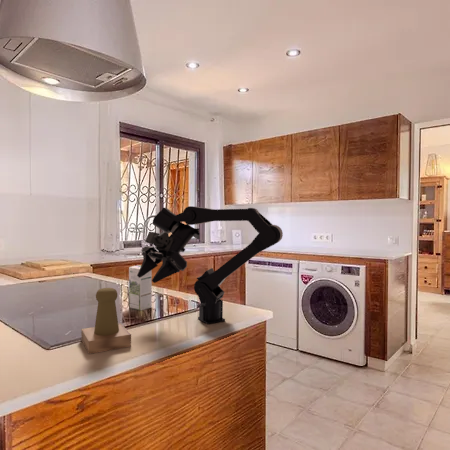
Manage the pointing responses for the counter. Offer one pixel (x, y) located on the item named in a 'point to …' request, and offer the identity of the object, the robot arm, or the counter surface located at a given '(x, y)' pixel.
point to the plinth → (105, 340)
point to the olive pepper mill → (106, 312)
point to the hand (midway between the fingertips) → (145, 279)
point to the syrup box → (140, 289)
